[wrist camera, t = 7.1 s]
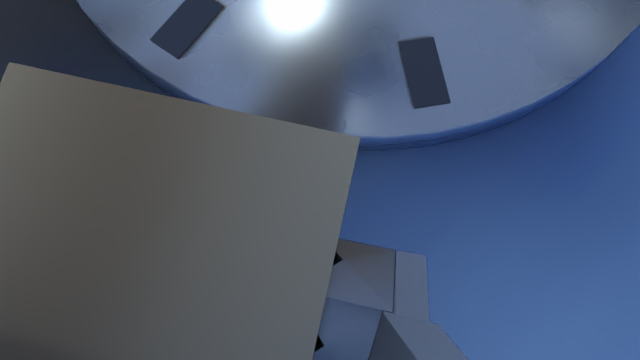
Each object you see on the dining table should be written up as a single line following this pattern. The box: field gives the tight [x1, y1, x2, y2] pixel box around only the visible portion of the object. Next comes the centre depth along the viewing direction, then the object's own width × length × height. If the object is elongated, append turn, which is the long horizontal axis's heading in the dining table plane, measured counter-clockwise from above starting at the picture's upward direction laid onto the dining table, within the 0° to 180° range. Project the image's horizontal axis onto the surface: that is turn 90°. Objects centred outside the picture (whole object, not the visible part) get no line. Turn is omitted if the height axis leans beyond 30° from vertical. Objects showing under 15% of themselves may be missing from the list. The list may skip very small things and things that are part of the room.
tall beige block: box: [0, 62, 360, 360], centre depth 10 cm, size 4×3×9 cm
